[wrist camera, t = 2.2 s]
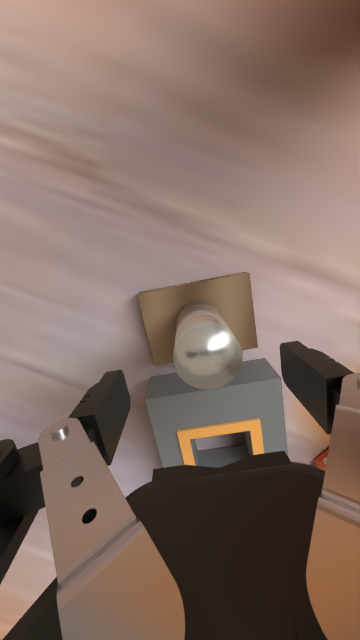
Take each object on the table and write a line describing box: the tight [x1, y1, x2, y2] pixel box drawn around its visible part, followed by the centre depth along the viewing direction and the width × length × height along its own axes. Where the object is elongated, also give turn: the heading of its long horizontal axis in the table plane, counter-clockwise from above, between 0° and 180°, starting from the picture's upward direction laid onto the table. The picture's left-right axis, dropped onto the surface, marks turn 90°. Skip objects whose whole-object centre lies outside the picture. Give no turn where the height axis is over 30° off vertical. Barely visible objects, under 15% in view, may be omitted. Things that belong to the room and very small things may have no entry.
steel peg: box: [173, 300, 242, 389], centre depth 17 cm, size 4×4×8 cm
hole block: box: [145, 358, 288, 468], centre depth 24 cm, size 12×15×4 cm
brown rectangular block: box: [137, 272, 258, 365], centre depth 22 cm, size 10×7×2 cm
